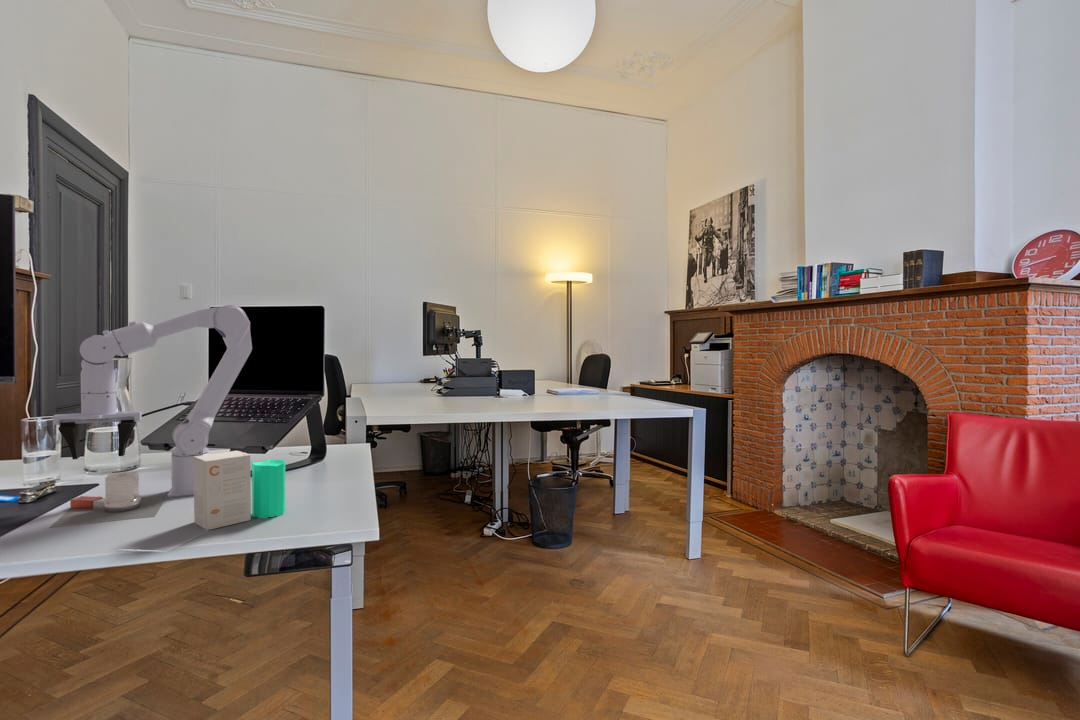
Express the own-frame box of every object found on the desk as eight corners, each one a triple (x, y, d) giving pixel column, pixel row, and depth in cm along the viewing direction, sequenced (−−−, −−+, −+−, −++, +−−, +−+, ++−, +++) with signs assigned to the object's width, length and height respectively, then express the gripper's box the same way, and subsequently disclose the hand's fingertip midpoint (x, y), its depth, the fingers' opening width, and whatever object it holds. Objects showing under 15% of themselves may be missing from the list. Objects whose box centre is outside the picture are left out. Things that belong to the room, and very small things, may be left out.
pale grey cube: (138, 494, 115) (138, 470, 115) (133, 500, 111) (133, 475, 111) (111, 497, 113) (111, 473, 113) (105, 503, 109) (105, 478, 108)
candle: (252, 520, 107) (252, 459, 106) (252, 511, 112) (252, 453, 112) (285, 516, 110) (286, 456, 109) (284, 507, 115) (284, 451, 114)
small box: (238, 513, 111) (238, 449, 110) (251, 520, 106) (251, 454, 106) (192, 523, 104) (192, 455, 104) (205, 531, 100) (204, 460, 100)
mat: (167, 496, 121) (167, 495, 121) (154, 517, 107) (154, 516, 107) (75, 505, 114) (75, 504, 114) (48, 529, 100) (48, 527, 100)
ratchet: (148, 504, 115) (147, 479, 115) (124, 513, 109) (124, 487, 109) (89, 502, 115) (88, 478, 115) (62, 511, 109) (62, 485, 109)
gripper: (47, 395, 108) (48, 463, 109) (136, 393, 115) (137, 457, 115) (59, 392, 115) (59, 456, 115) (143, 390, 121) (143, 451, 122)
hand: (99, 456), depth 116 cm, fingers open, 7 cm apart
